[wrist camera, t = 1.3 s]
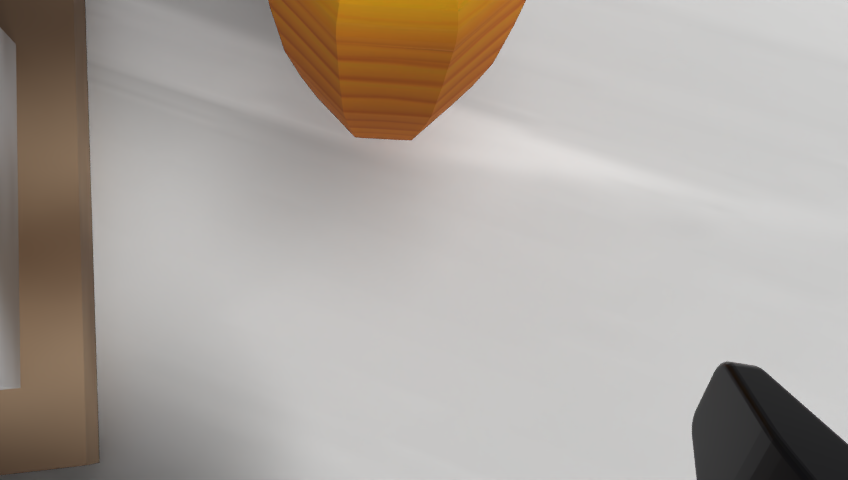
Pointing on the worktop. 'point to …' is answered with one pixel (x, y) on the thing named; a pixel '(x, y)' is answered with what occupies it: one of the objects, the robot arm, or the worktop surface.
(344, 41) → the carrot
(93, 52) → the worktop surface
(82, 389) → the holder
